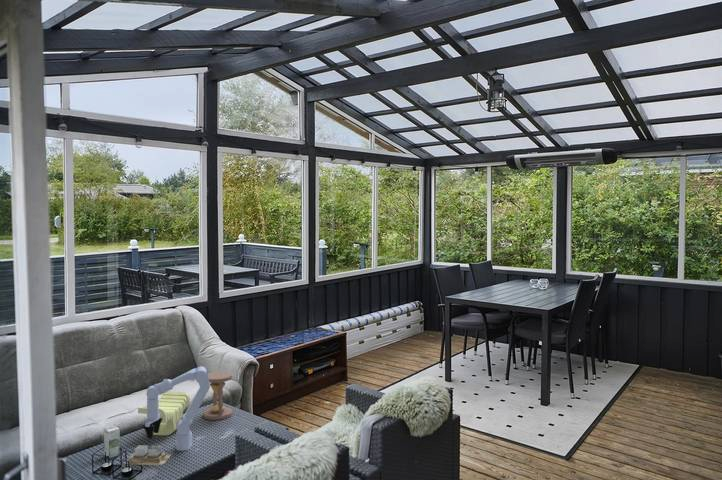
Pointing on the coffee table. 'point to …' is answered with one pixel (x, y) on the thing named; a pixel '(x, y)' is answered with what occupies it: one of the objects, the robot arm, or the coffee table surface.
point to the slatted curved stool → (170, 411)
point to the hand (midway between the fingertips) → (153, 435)
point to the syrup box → (112, 441)
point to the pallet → (149, 460)
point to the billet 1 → (141, 451)
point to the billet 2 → (154, 451)
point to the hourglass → (217, 385)
